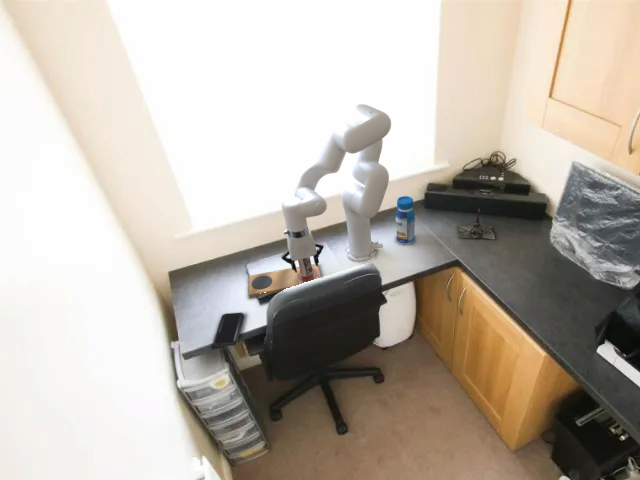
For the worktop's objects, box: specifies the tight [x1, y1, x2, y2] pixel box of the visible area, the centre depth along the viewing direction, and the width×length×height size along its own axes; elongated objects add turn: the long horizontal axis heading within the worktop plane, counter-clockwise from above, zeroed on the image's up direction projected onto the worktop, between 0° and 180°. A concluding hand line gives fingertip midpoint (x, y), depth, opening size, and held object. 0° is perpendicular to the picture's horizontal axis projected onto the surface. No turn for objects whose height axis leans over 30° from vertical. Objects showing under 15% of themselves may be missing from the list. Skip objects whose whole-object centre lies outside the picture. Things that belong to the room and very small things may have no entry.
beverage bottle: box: [395, 195, 416, 245], centre depth 178 cm, size 8×8×20 cm
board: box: [248, 263, 322, 298], centre depth 165 cm, size 28×12×2 cm, turn 103°
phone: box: [212, 312, 245, 348], centre depth 146 cm, size 8×1×15 cm
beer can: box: [297, 257, 313, 277], centre depth 162 cm, size 5×5×12 cm
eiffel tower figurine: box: [458, 208, 496, 240], centre depth 181 cm, size 15×10×13 cm
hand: (306, 267), depth 164 cm, fingers open, 8 cm apart
